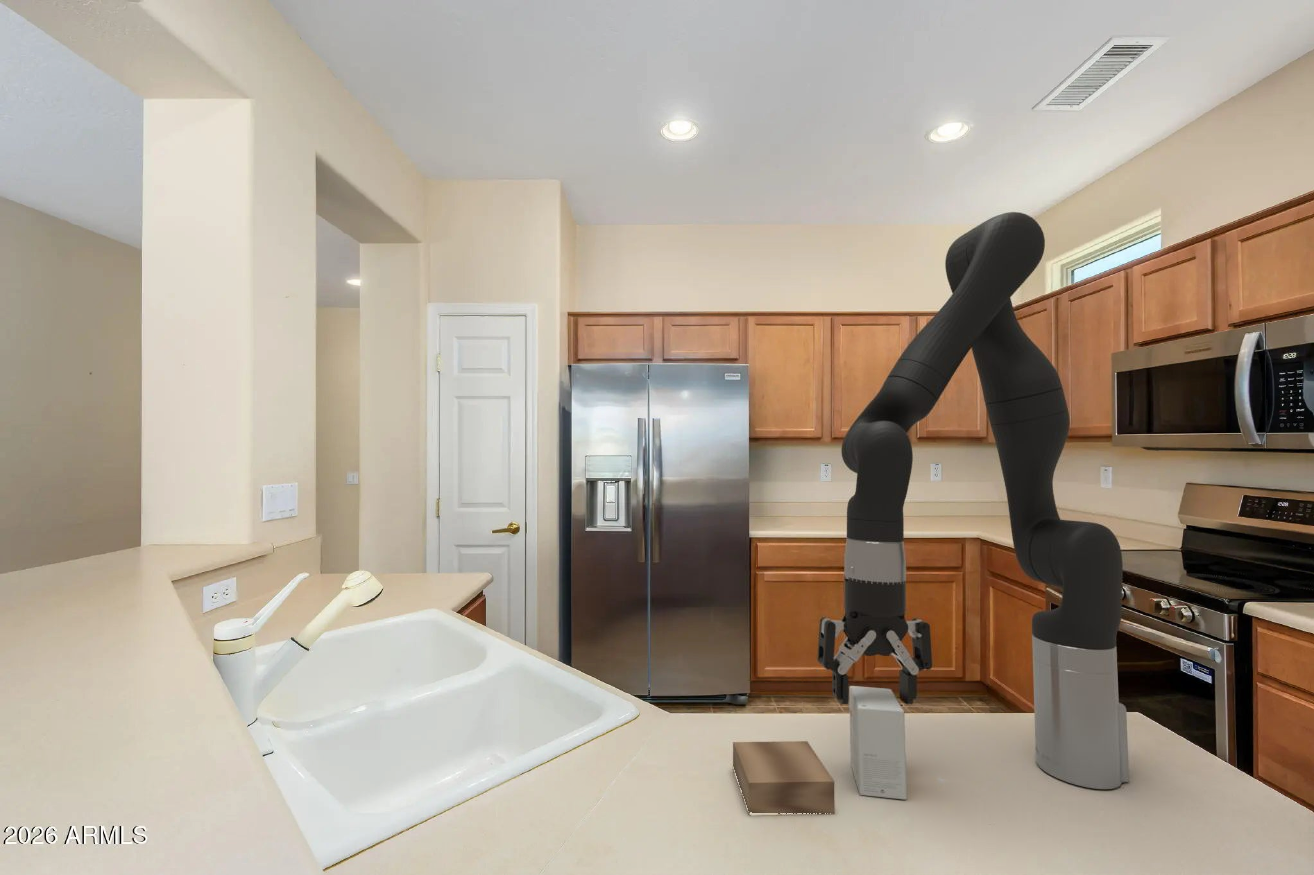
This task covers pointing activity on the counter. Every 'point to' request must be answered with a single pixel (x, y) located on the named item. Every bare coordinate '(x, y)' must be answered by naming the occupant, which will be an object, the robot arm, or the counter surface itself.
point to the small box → (877, 742)
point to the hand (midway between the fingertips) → (874, 702)
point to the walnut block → (783, 778)
